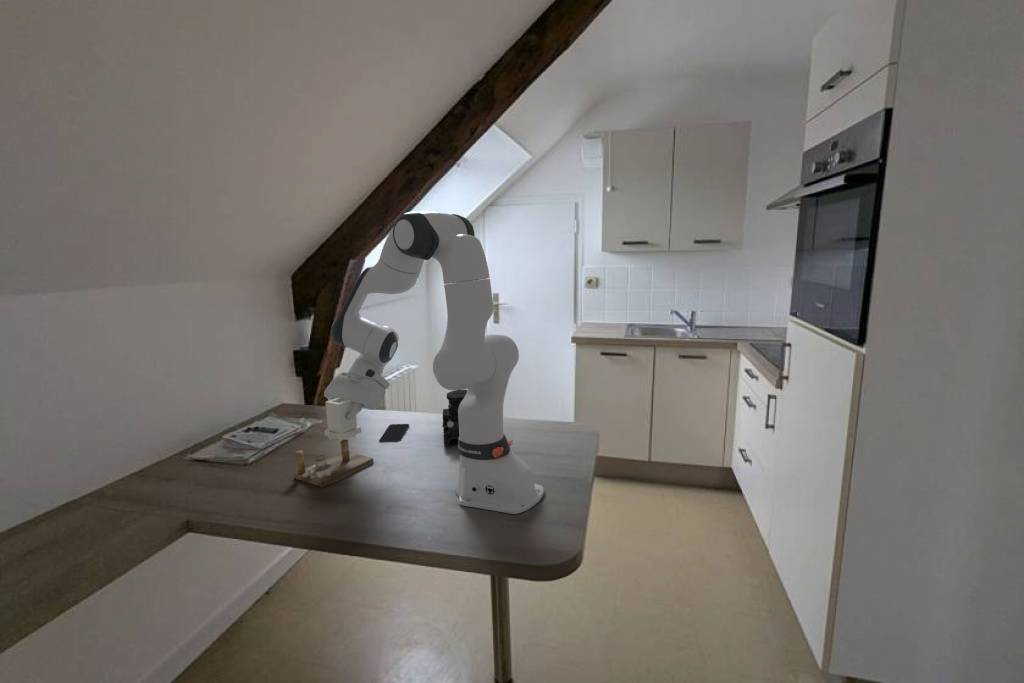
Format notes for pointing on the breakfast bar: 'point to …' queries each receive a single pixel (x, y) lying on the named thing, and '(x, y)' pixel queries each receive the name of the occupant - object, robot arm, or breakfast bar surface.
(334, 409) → the white square socket
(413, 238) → the robot arm
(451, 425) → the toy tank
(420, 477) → the breakfast bar surface
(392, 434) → the smartphone
